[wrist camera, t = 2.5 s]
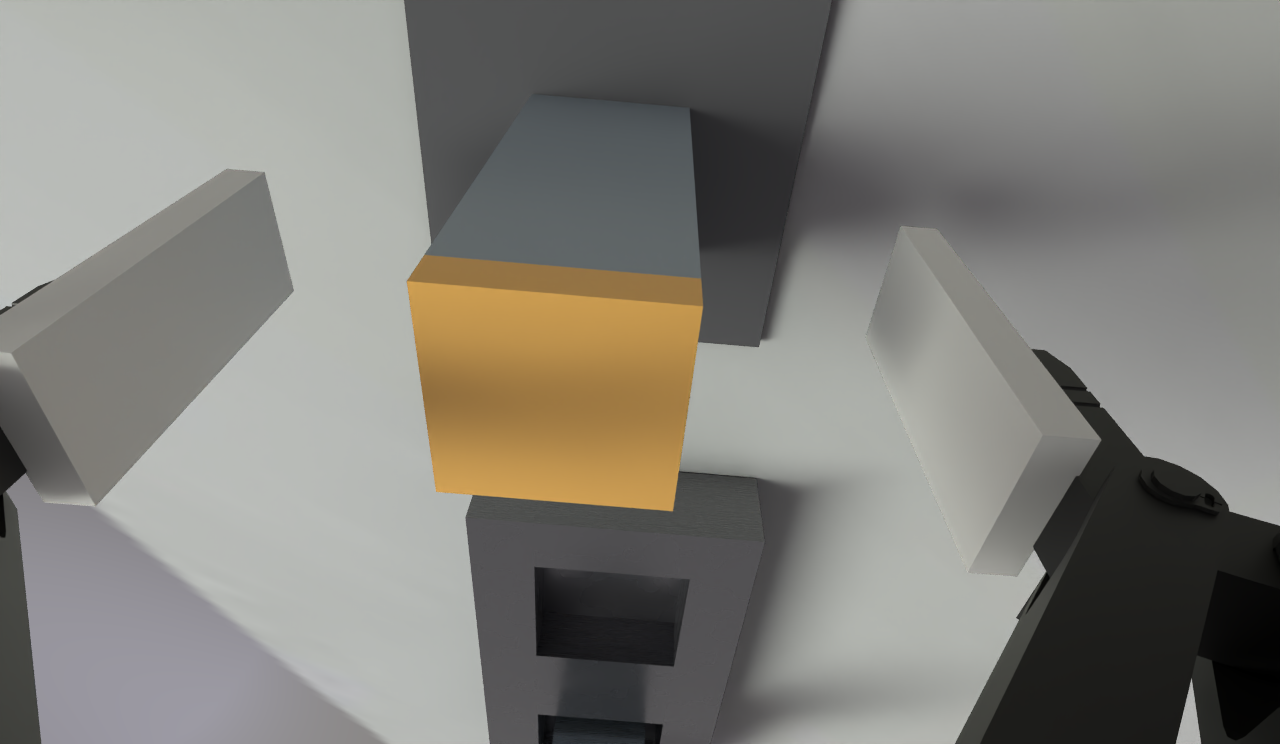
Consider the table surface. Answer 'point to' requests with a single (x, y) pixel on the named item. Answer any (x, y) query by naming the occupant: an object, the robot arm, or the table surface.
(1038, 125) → the table surface
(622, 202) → the plug
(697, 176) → the mat
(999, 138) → the table surface
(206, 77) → the table surface
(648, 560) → the grey block holder
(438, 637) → the table surface
